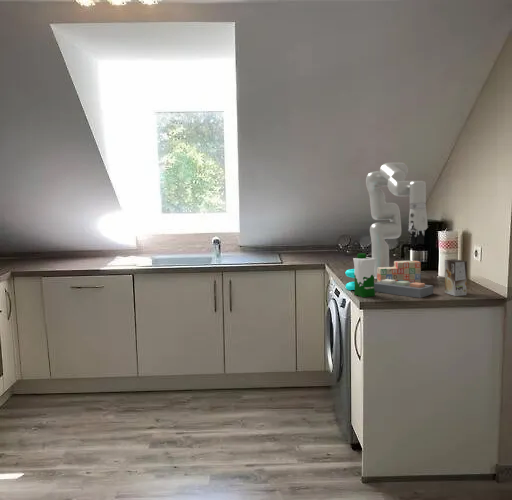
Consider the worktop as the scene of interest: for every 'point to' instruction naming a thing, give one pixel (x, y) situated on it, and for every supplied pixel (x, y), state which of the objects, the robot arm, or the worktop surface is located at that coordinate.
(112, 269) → the worktop surface
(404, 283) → the sage key
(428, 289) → the key panel
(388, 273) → the stack of blocks
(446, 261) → the coffee box
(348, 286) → the donuts
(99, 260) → the worktop surface
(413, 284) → the terracotta key
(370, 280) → the milk carton
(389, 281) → the cream key
